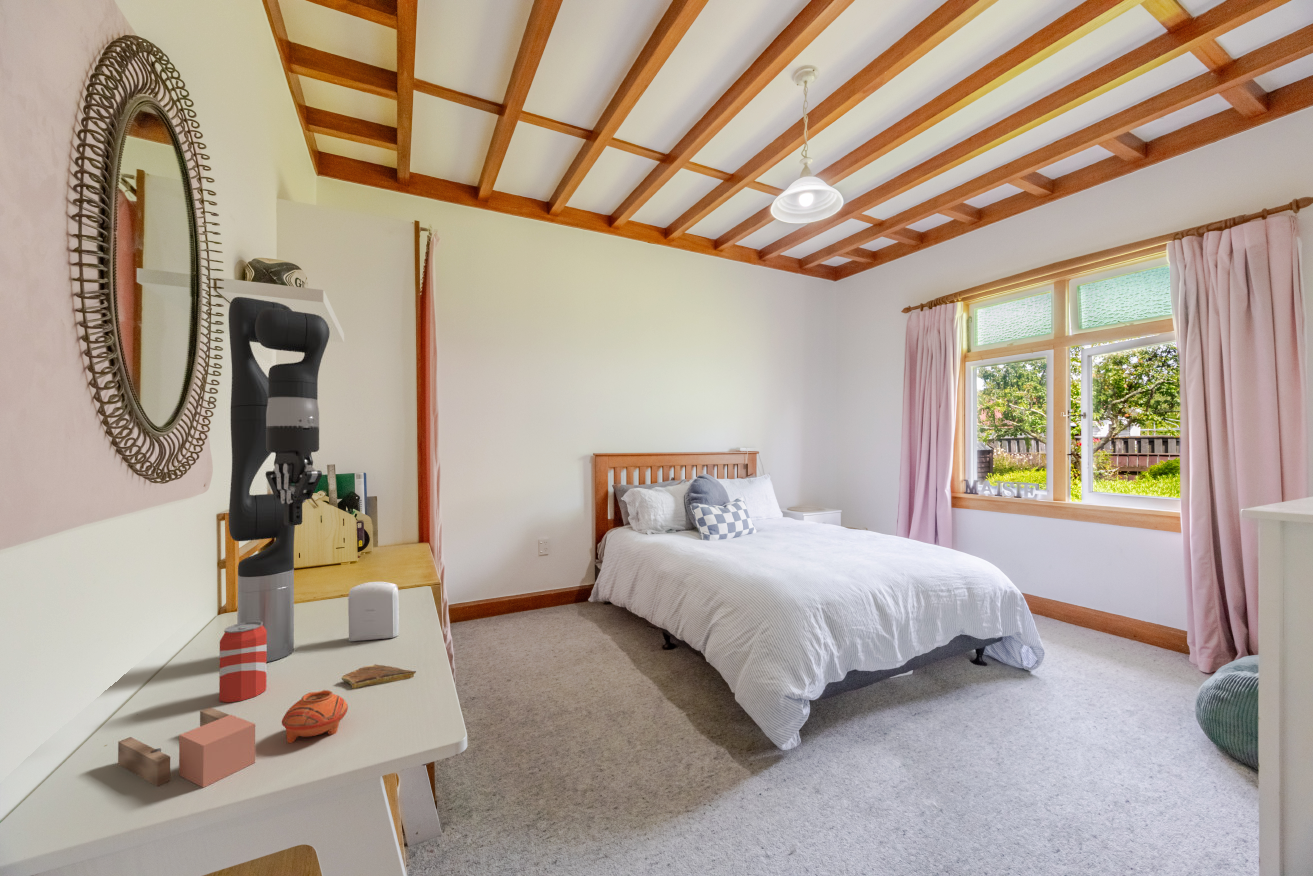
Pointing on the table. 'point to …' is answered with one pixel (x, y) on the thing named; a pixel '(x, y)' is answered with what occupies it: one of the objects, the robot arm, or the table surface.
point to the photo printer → (373, 611)
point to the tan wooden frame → (154, 754)
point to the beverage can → (243, 662)
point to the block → (216, 750)
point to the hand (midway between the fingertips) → (293, 524)
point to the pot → (314, 715)
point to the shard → (376, 675)
